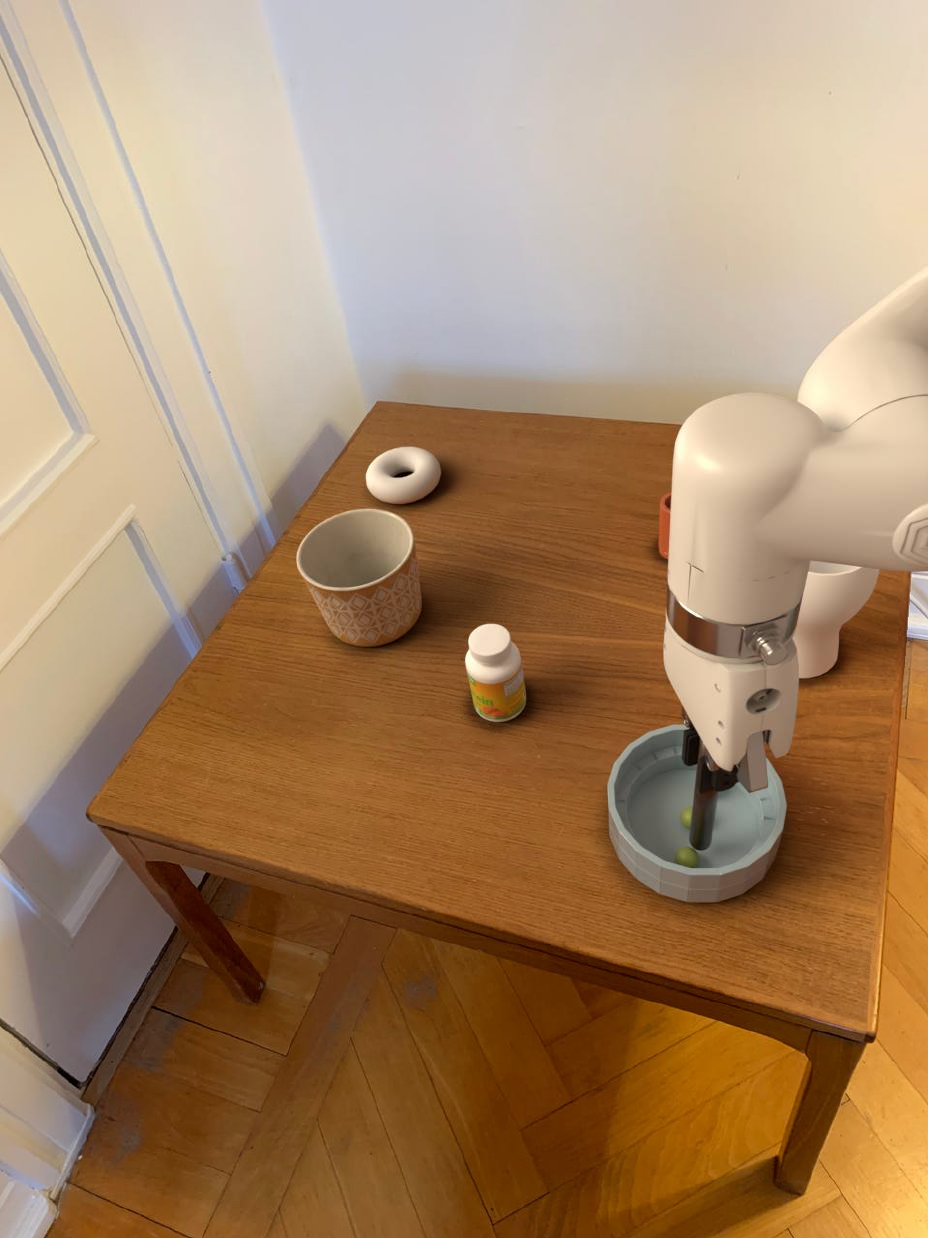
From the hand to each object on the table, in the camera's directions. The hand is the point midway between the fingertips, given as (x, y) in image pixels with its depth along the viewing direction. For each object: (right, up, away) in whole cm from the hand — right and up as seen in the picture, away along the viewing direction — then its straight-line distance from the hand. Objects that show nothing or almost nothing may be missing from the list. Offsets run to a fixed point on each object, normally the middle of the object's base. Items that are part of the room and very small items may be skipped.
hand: (710, 770), depth 63 cm
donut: (-26, +29, +50) cm, 64 cm away
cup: (+15, +8, +23) cm, 29 cm away
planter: (-28, +12, +35) cm, 46 cm away
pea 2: (0, -9, +8) cm, 12 cm away
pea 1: (+1, -6, +10) cm, 12 cm away
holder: (+6, +19, +35) cm, 40 cm away
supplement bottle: (-14, +3, +24) cm, 28 cm away
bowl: (+2, -7, +11) cm, 13 cm away
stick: (+1, -8, +8) cm, 11 cm away
